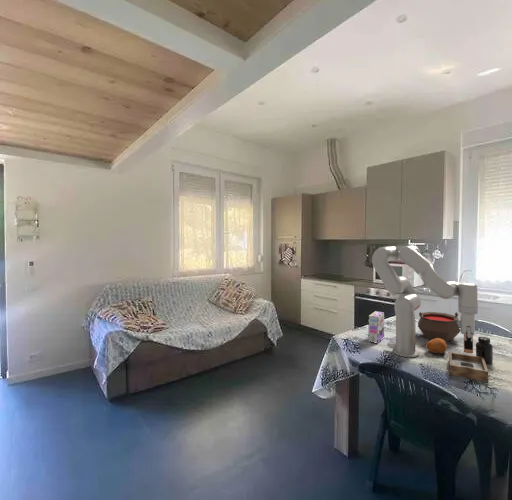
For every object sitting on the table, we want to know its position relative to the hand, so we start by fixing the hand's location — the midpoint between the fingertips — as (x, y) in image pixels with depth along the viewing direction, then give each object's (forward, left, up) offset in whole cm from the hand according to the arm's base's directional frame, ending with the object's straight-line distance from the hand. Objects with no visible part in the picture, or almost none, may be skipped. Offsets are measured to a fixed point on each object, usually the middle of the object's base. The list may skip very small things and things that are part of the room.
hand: (468, 347), depth 144 cm
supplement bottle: (+8, +14, -11) cm, 19 cm away
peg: (0, 0, -2) cm, 2 cm away
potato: (-13, +16, -11) cm, 23 cm away
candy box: (-45, +22, -11) cm, 51 cm away
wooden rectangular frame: (0, -2, -11) cm, 11 cm away
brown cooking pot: (-12, +43, -11) cm, 46 cm away
